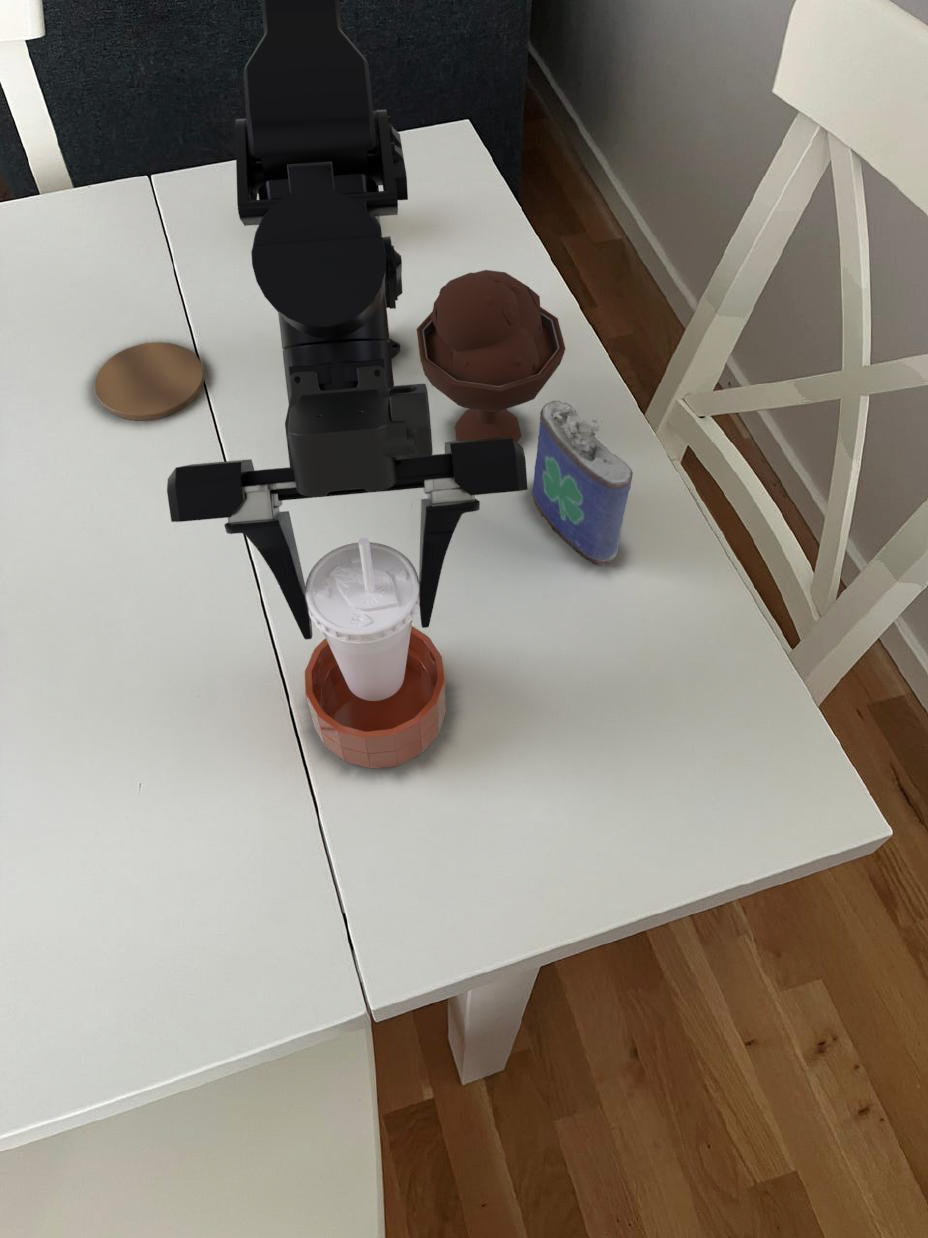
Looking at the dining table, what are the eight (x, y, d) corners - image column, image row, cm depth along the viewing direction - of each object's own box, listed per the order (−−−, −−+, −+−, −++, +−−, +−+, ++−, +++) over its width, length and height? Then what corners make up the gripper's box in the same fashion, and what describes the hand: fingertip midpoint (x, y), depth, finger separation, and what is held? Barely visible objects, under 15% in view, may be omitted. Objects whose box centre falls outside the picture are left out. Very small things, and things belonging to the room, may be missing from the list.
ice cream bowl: (545, 489, 77) (560, 334, 64) (406, 468, 78) (394, 312, 66) (565, 396, 82) (582, 237, 70) (435, 378, 84) (429, 219, 71)
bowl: (373, 633, 69) (368, 596, 65) (471, 700, 66) (471, 665, 62) (286, 720, 65) (276, 685, 61) (386, 795, 62) (381, 763, 58)
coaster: (155, 333, 87) (153, 328, 87) (226, 376, 84) (225, 371, 83) (74, 389, 83) (71, 383, 83) (146, 436, 80) (144, 431, 79)
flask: (623, 557, 73) (644, 455, 64) (591, 574, 72) (608, 473, 63) (551, 479, 77) (561, 373, 68) (520, 494, 76) (526, 389, 68)
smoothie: (388, 738, 60) (370, 607, 48) (303, 689, 62) (266, 552, 50) (445, 661, 63) (441, 521, 51) (362, 617, 65) (341, 472, 53)
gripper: (119, 348, 44) (169, 686, 47) (532, 316, 45) (555, 646, 48) (170, 364, 55) (208, 637, 58) (502, 338, 56) (522, 606, 59)
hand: (366, 632), depth 56 cm, fingers closed on smoothie, 6 cm apart
